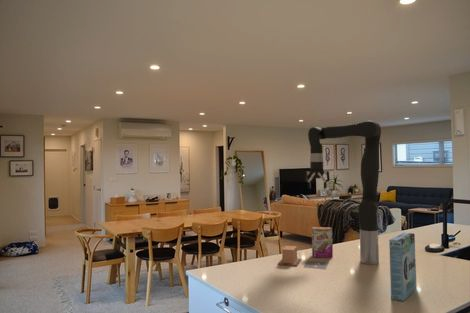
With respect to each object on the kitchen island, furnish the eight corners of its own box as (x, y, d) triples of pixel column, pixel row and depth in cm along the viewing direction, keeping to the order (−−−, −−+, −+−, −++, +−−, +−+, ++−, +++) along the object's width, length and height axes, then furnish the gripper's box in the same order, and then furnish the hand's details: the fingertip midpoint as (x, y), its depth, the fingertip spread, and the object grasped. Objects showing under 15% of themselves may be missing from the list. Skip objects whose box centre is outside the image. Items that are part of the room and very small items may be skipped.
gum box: (403, 301, 137) (402, 241, 138) (389, 298, 141) (388, 239, 141) (417, 288, 152) (415, 233, 153) (404, 285, 156) (402, 232, 156)
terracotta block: (297, 259, 197) (296, 246, 197) (293, 263, 189) (293, 250, 189) (286, 258, 199) (285, 245, 199) (282, 262, 191) (282, 249, 191)
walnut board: (301, 260, 198) (301, 258, 198) (296, 266, 186) (296, 264, 186) (283, 259, 202) (283, 257, 202) (277, 265, 189) (277, 263, 189)
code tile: (328, 262, 194) (328, 262, 194) (325, 269, 181) (325, 269, 181) (307, 260, 197) (307, 260, 197) (303, 267, 184) (303, 267, 184)
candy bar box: (312, 257, 204) (312, 228, 204) (311, 255, 209) (311, 227, 209) (333, 258, 202) (332, 228, 203) (331, 255, 207) (331, 227, 208)
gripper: (329, 161, 215) (330, 188, 214) (305, 161, 219) (306, 188, 219) (328, 161, 208) (329, 189, 207) (303, 161, 212) (304, 189, 212)
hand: (317, 188), depth 213 cm, fingers open, 8 cm apart
